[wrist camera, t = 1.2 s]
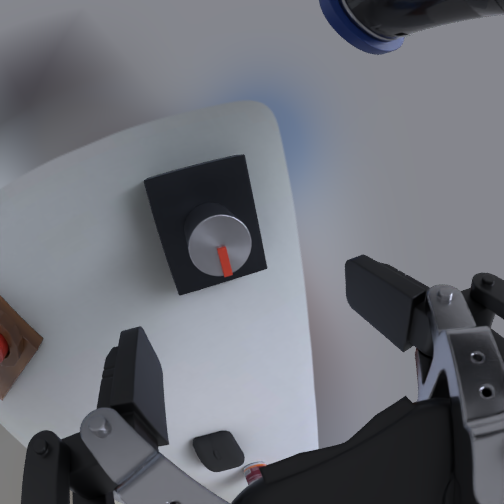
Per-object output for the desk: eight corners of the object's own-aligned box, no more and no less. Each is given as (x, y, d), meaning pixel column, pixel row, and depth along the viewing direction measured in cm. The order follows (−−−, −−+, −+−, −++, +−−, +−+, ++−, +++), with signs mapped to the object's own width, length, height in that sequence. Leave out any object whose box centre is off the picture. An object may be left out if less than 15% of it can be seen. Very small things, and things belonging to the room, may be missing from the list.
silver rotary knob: (178, 210, 20) (181, 226, 16) (228, 196, 21) (246, 208, 16) (191, 257, 22) (199, 286, 17) (238, 243, 23) (258, 267, 18)
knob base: (146, 178, 22) (143, 180, 19) (235, 155, 23) (244, 154, 20) (177, 281, 25) (179, 296, 23) (257, 257, 27) (267, 269, 24)
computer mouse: (228, 427, 35) (234, 448, 31) (245, 455, 39) (251, 472, 35) (189, 438, 33) (193, 458, 30) (212, 464, 38) (217, 481, 34)
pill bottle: (269, 465, 43) (283, 496, 35) (248, 473, 42) (260, 504, 34) (261, 459, 41) (275, 492, 33) (239, 467, 40) (251, 501, 33)
